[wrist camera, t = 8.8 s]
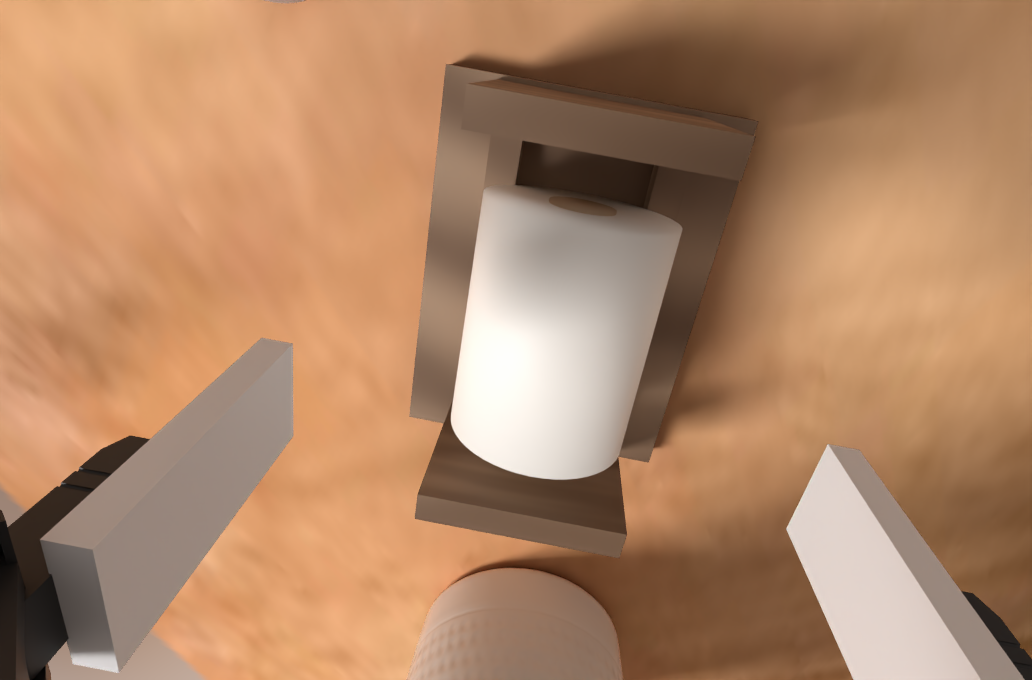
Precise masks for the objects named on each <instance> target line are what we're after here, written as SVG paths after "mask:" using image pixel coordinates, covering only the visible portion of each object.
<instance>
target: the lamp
mask: <svg viewBox="0 0 1032 680" xmlns="http://www.w3.org/2000/svg"><path fill="white" fill-rule="evenodd" d="M406 680H623V674H622V666H621V658H620V650H619V643H618V638H617V633H616V630H615V628H614V625H613V623H612V620H611V618H610V617H609V615H608V614H607V612H606V611H605V609H604V608H603V607H602V606H601V605H600V604H599V603H598V602H597V601H596V600H595V599H594V598H593V597H592V596H591V595H590V594H589V593H587V592H586V591H585V590H583V589H582V588H581V587H579V586H577V585H575V584H574V583H572V582H570V581H568V580H566V579H564V578H561V577H559V576H556V575H554V574H550V573H547V572H543V571H539V570H533V569H526V568H498V569H491V570H486V571H481V572H478V573H475V574H472V575H470V576H467V577H465V578H463V579H461V580H459V581H457V582H456V583H454V584H452V585H451V586H450V587H448V588H447V589H446V590H445V591H443V592H442V593H441V594H440V595H439V596H438V598H437V599H436V600H435V601H434V603H433V604H432V606H431V608H430V610H429V612H428V614H427V615H426V618H425V622H424V625H423V628H422V631H421V634H420V637H419V640H418V643H417V646H416V650H415V653H414V656H413V660H412V663H411V666H410V670H409V673H408V676H407V679H406Z"/></svg>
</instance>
